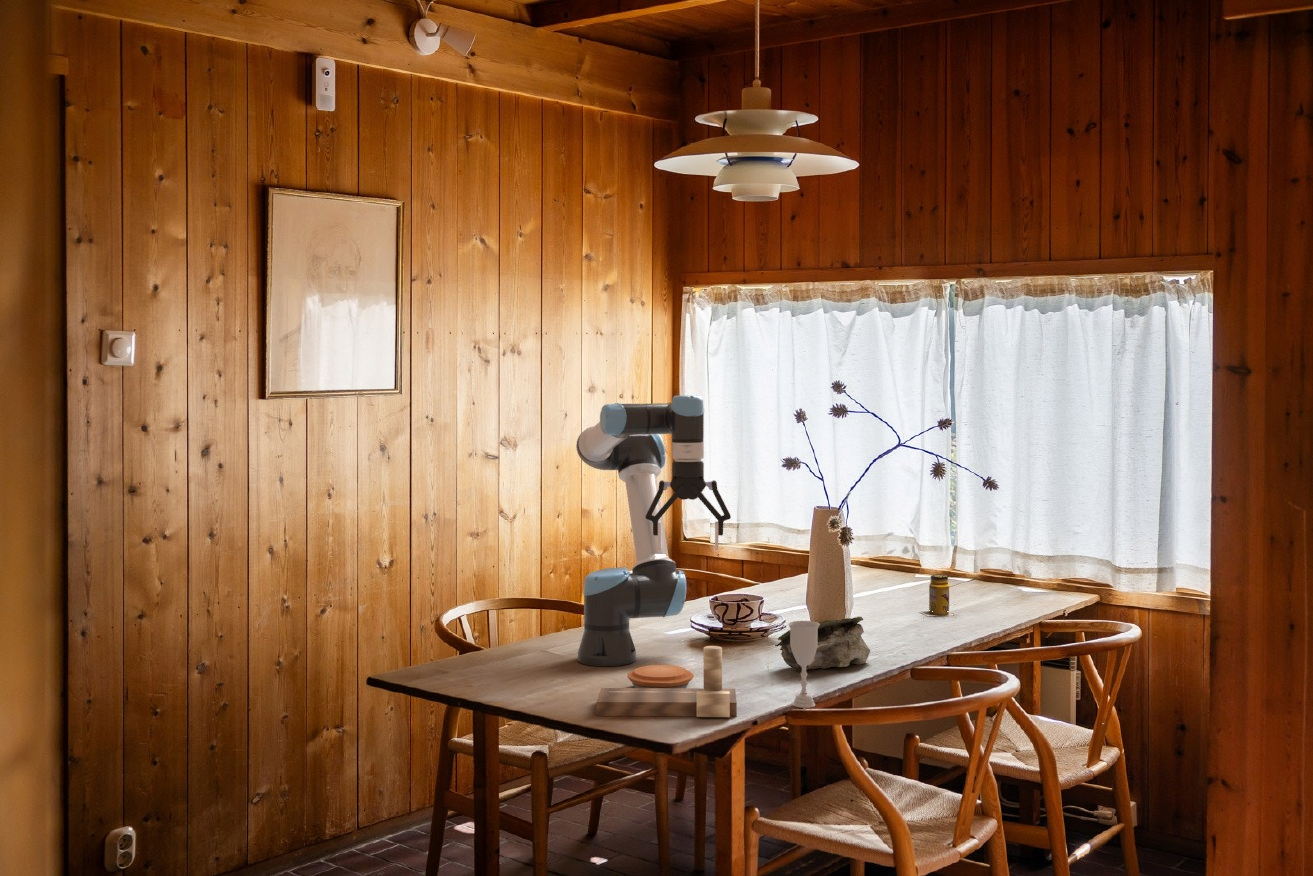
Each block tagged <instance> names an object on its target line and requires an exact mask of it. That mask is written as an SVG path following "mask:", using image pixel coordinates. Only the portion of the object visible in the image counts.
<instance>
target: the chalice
mask: <svg viewBox="0 0 1313 876" xmlns="http://www.w3.org/2000/svg"><path fill="white" fill-rule="evenodd" d="M818 622H819V621H818ZM818 622H817V621H812V620H797V621H796V620H795V621H790V622H788V623H787V624H788V627H789V630H790V646H791V649H792V652H793V655H794V657H795V659H796V661H797V663H798V664H799V665H801V667H802V672H801V673H800V676H801V681H800V686H801V691H800V692H798V693H797V694H796V695H795V698H794V701H793V703H792V706H793V707H795V708H803V709H804V708H808V709H809V708H813V707H815V706H816V703H815V701H814V698H813V696H812V694H811V693H809V692H808V690H807V685H808V684H809V682H808V681H807V676H808V672H807V670H806V666H807V665H809V664H810V663H811V661H812V659H813V657H814V655H815V652H816V649H817V646H818V627H819V625H820V624H819V623H818Z"/></svg>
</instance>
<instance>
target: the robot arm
mask: <svg viewBox="0 0 1313 876" xmlns="http://www.w3.org/2000/svg"><path fill="white" fill-rule="evenodd" d="M599 412H600V413H599V422H597V423H596V424H595V425H594V426H590V427H588V428H586V429H584V430H583V431H582V432H581V433H580V434H579V436H578V437H577V439H576V445H575V446H576V452H577V455H578V457H579V458H580V459H581V461H582V462H584V463H585V465H587V466H590V468H594V469H597V470H601V471H617V473H618V478H619V479H620V481H622V482H624V483H625V488H626V489H625V490H626V495H627V504H628V510H629V517H630V525H631V531H632V532H631V533H632V536H633V537H632V539H633V545H634V552H635V558H636V563H635V564H634V566H633V567H632V573H630V572H631V571H629V568H626V567H608V568H604V569H599V570H594V571H593V572H590V573H588V574H587V575H586V576H585V578H584V583H583V591H582V594H583V624H584V625H583V627H584V629H583V634H582V637H581V639H580V640H581V641H580V642H579V647H578V650H577V662H578V663H581V664H583V665H587V666H592V667H593V666H594V667H617V666H618V667H619V666H626V665H629V664H632V663H634V662H636V661H637V649H636V646H635V644H634V641H633V637H632V634H631V632H630V619H644V618H645V619H647V618H648V619H649V618H667V617H670V616H674V617H675V616H677V615H679V614H680V613H681V612H682V611H683V608H684V605H685V602H686V597H687V578H686V574H685V572H684V571H683V570H679V569H678V570H677V565H676V561H675V560H673V559H671V558H670V556H669V552H668V550H669V549H668V545H667V539H666V538H667V537H666V531H665V525H664V518H663V515H664V514H665V513H666V512H667V510H669V509H670V507H671V506H672V505H673V503H675V501H676V500H677V499H679V500H683V501H684V500H692V501H694V500H697V499H698V500H700V502H702V504H703V505H704V506H705V507H706V509H708V510H709V512H710V513H711V514H712V515H713V516H714V518H715V519H716V520H717V521H714V550H715V551H719V536H723V535H724V523H725V521H728V520H730V519H731V518H732V517H731V513H730V511H729V509H728V508H727V505H726V504H725V501H724V500H723V498H722V496H721V494H720V491H719V489H718V483H717V481H716V480H715V479H713V480H709V481H705V479H704V477H705V474H704V473H705V472H704V471H705V469H704V468H705V467H704V466H705V464H704V461H703V460H702V459H704V458H705V455H704V454H705V449H704V448H705V447H704V446H705V445H704V443H705V441H704V437H705V435H704V431H705V430H704V427H705V426H704V425H705V423H704V421H705V419H704V413H705V408H704V398H703V397H702V396H701V395H674V396H673V397H672V399H671V402H667V403H664V402H663V403H662V402H661V403H657V402H655V403H619V402H615V403H608V404H607V403H606V404H603V406H602V407H601V410H600V411H599ZM662 435H671V438H672V439H671V458H672V459H673V460H674V461H672V463H671V481H666V480H660V481H659V483H658V480H657V478H658V477H659V475H660V474H661V472H662V469H663V467H665V464H666V447H665V443H664V440H663V437H662ZM669 487H670V488H671V490H672V491H673V494H671V496H670V497H669V498H668V499H667V501H666V502H665V503H664V504H663V506H661V500H660V499H661V497H662V495H663V493H664V491H667V490H668V488H669ZM706 487H707V488H708V489H709V490H710V491H712V493H713V495H714V497H715V499H716V501H717V503H718V505H719V507H720V509H721V511H722V513H723V514H721V513H720V512H719V511H718V510H717V509H716V508H715V506H714V505H713V504H712V503H711V502H710V501H709V499H708V498H707V497H706V495H704V493H703V491H704V490H705V488H706Z"/></svg>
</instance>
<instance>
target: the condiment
mask: <svg viewBox="0 0 1313 876" xmlns="http://www.w3.org/2000/svg"><path fill="white" fill-rule="evenodd" d="M929 582H930V583H929V585H928V589H929V590H928V595H929V597H928V598H929V600H928V603H929V604H928V611H927V610H926V611H918V612H919V613H920V614H922V615H924V616H927V617H939V616H940V617H947V616H950V617H951V616H954V614H952V613H950V584H949V576H948V575H946V574H931V575H930V581H929ZM929 610H930V611H929ZM932 611H933V612H932ZM947 611H949V612H947ZM949 614H950V615H949Z"/></svg>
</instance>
